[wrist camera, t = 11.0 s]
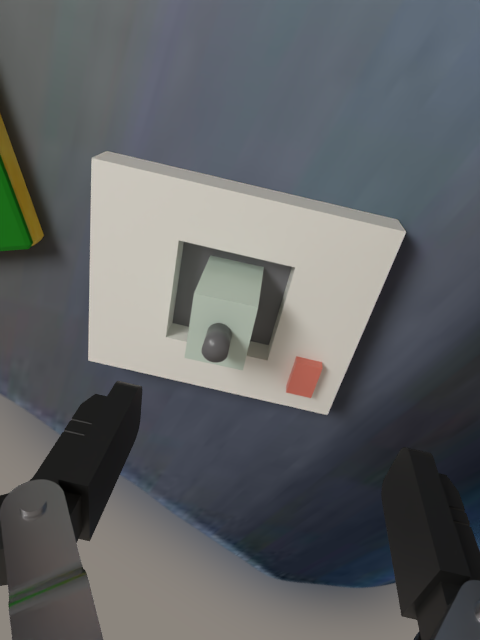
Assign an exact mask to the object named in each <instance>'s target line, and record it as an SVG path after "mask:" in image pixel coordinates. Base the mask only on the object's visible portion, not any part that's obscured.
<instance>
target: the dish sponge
mask: <svg viewBox="0 0 480 640" xmlns="http://www.w3.org/2000/svg"><path fill="white" fill-rule="evenodd" d="M43 236H44V234H43V231H42V228H41V226H40V223H39V220H38V217H37V215H36V212H35V209H34V206H33V203H32V201H31V198H30V195H29V192H28V189H27V187H26V184H25V181H24V178H23V175H22V173H21V170H20V167H19V164H18V162H17V159H16V156H15V153H14V150H13V148H12V145H11V142H10V139H9V136H8V134H7V131H6V128H5V125H4V123H3V120H2V117H1V114H0V251H8V250H21V249H29V248H30V247H31V246H33V245H35V244H36V243H38V242H39V241H40V240H42V238H43Z"/></svg>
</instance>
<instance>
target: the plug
mask: <svg viewBox="0 0 480 640" xmlns="http://www.w3.org/2000/svg"><path fill="white" fill-rule="evenodd" d="M263 270H264V267H261V266H256V265H252V264H247V263H242V262H238V261H233V260H229V259H224V258H219V257H215V256H210V257H209V259H208V262H207V264H206V266H205V269H204V271H203V273H202V276H201V278H200V280H199V283H198V285H197V287H196V290H195V292H194V296H193V303H192V310H191V317H190V324H189V331H188V337H187V344H186V351H185V358H187V359H192V360H196V361H201V362H206V363H210V364H215V365H220V366H224V367H229V368H234V369H238V370H243V368H244V364H245V360H246V356H247V352H248V347H249V343H250V339H251V335H252V331H253V327H254V323H255V319H256V314H257V310H258V305H259V298H260V291H261V284H262V277H263Z"/></svg>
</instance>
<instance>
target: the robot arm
mask: <svg viewBox="0 0 480 640" xmlns="http://www.w3.org/2000/svg"><path fill="white" fill-rule="evenodd" d="M141 401H142V386H138V385H134V384H129V383H125V382H121V381H117V382H116V383H115V384H114V386H113V388H112V389H111V391H110V393H109V394H108V396H103V395H98V394H95V395H93V396H92V397H90V398H89V399H88V400H86V401H85V402H84V403H82V404H81V405H80V407H79V408H78V410H77V411H76V413H75V414H74V416H73V417H72V420H71V421H70V422H69V423H68V425H67V427H66V428H65V431H64V432H63V433H62V434H61V436H60V437H59V439H58V441H57V442H56V443H55V445H54V446H53V448H52V449H51V451H50V453H49V454H48V456H47V457H46V459H45V460H44V462H43V463H42V465H41V466H40V468H39V469H38V471H37V473H36V474H35V475H34V477H33V478H32V479H31V480H30V481H28V482H26V483H23V484H21V485H19V486H18V487H16V488H15V489H13V490H12V491H11V492H10V493H8V494H4V495H1V496H0V586H2V585H8V590H9V615H10V624H11V634H12V640H103V637H102V632H101V628H100V624H99V620H98V616H97V612H96V608H95V605H94V600H93V597H92V592H91V588H90V584H89V581H88V577H87V574H86V572H85V570H84V569H83V567H82V564H81V560H80V556H79V552H78V548H77V544H76V543H77V541H78V539H83V540H87V541H90V539H91V537H92V535H93V533H94V531H95V528H96V526H97V524H98V522H99V519H100V517H101V515H102V513H103V511H104V508H105V506H106V504H107V502H108V500H109V497H110V495H111V493H112V490H113V488H114V486H115V484H116V482H117V479H118V477H119V475H120V473H121V471H122V468H123V466H124V464H125V462H126V459H127V457H128V455H129V453H130V451H131V448H132V446H133V444H134V442H135V439H136V436H137V433H138V429H139V425H140V415H141ZM382 504H383V509H384V515H385V521H386V527H387V533H388V539H389V545H390V551H391V556H392V562H393V568H394V574H395V580H396V586H397V592H398V597H399V603H400V609H401V615H402V616H403V617H407V618H412V619H416V620H417V621H418V625H419V632H418V634H417V635H416V636H415V638H414V640H480V552H479V549H478V546H477V543H476V540H475V537H474V534H473V532H472V529H471V527H469V524H470V523H469V520H468V517H467V514H466V513H465V512H464V510H465V509H464V506H463V503H462V500H461V497H460V495H459V492H458V490H457V489H456V488H455V486H454V485H453V484H452V482H451V481H450V479H449V478H448V477H447V475H444V474H440V473H438V471H437V467H436V464H435V461H434V458H433V456H432V454H431V453H428V452H424V451H420V450H415V449H411V448H406V447H403V448H402V449H401V450H400V452H399V454H398V455H397V457H396V459H395V461H394V462H393V464H392V466H391V468H390V469H389V471H388V473H387V475H386V477H385V478H384V481H383V485H382Z"/></svg>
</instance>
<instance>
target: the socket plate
mask: <svg viewBox="0 0 480 640" xmlns="http://www.w3.org/2000/svg"><path fill="white" fill-rule="evenodd" d="M405 234H406V231H405V230H404V228H403V227H402V225H401V224H400V222H399V221H398V220H397V219H393V218H389V217H385V216H380V215H376V214H372V213H368V212H363V211H359V210H355V209H351V208H347V207H342V206H338V205H334V204H330V203H325V202H321V201H317V200H313V199H308V198H304V197H300V196H296V195H291V194H287V193H283V192H279V191H274V190H270V189H266V188H262V187H258V186H253V185H249V184H245V183H241V182H236V181H232V180H228V179H224V178H219V177H215V176H211V175H207V174H202V173H198V172H194V171H190V170H185V169H181V168H177V167H173V166H169V165H164V164H160V163H156V162H152V161H147V160H143V159H139V158H135V157H130V156H126V155H122V154H118V153H113V152H109V151H106V152H103V153H101V154H99V155H97V156H95V157H93V158H92V170H91V230H90V290H89V349H88V360H89V361H93V362H97V363H102V364H106V365H110V366H115V367H119V368H124V369H128V370H132V371H137V372H141V373H146V374H150V375H154V376H159V377H163V378H167V379H172V380H176V381H181V382H185V383H189V384H194V385H198V386H202V387H207V388H211V389H216V390H220V391H224V392H229V393H233V394H238V395H242V396H246V397H251V398H255V399H259V400H264V401H268V402H273V403H277V404H281V405H286V406H290V407H295V408H299V409H303V410H308V411H312V412H316V413H321V414H325V415H328V412H329V410H330V408H331V405H332V403H333V401H334V398H335V396H336V394H337V392H338V389H339V387H340V385H341V382H342V380H343V378H344V375H345V373H346V371H347V368H348V366H349V364H350V361H351V359H352V357H353V354H354V352H355V350H356V347H357V345H358V343H359V340H360V338H361V336H362V334H363V331H364V329H365V327H366V324H367V322H368V320H369V317H370V315H371V313H372V310H373V308H374V306H375V303H376V301H377V299H378V296H379V294H380V292H381V289H382V287H383V285H384V282H385V280H386V278H387V276H388V273H389V271H390V269H391V266H392V264H393V262H394V259H395V257H396V255H397V252H398V250H399V248H400V245H401V243H402V241H403V238H404V236H405ZM210 256H215V257H219V258H224V259H229V260H233V261H238V262H242V263H247V264H252V265H256V266H261V267H264V270H263V277H262V284H261V291H260V298H259V305H258V310H257V314H256V319H255V323H254V327H253V331H252V335H251V339H250V343H249V347H248V352H247V356H246V360H245V364H244V368H243V370H238V369H234V368H229V367H224V366H220V365H215V364H210V363H206V362H201V361H196V360H192V359H187V358H185V351H186V344H187V337H188V331H189V324H190V317H191V310H192V303H193V296H194V292H195V290H196V287H197V285H198V283H199V280H200V278H201V276H202V273H203V271H204V269H205V266H206V264H207V262H208V259H209V257H210Z"/></svg>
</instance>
